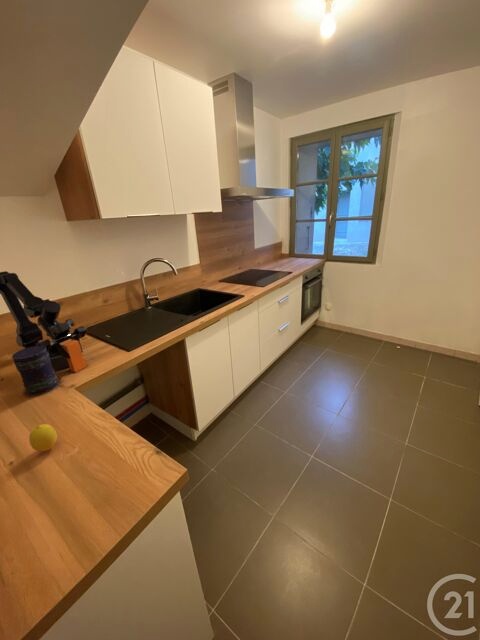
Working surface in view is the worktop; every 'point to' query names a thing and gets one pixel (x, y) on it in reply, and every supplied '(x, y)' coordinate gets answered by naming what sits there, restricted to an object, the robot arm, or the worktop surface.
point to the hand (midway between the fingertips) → (76, 355)
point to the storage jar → (35, 370)
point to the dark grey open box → (58, 361)
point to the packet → (74, 355)
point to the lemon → (42, 437)
